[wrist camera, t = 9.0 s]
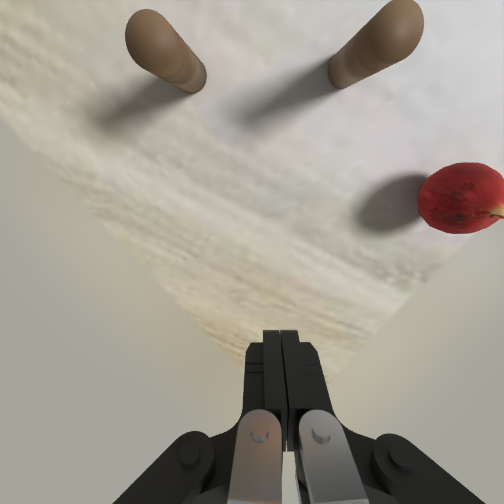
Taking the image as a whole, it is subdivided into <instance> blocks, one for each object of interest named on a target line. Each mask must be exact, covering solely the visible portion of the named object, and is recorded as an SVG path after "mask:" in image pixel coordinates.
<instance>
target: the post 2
mask: <svg viewBox="0 0 504 504" xmlns="http://www.w3.org/2000/svg"><path fill="white" fill-rule="evenodd" d="M423 28H424V18H423V13H422V10H421V8H420V7H419V5H418V4H417V3H416V2H415V1H413V0H392V1H391V2H389V3H388V4H386V5H385V6H384V7H383V8H382V9H381V10H380V11H379V12H378V13H377V14H376V15H375V16H374V17H373V18H372V19H371V20H370V21H369V22H368V23H367V24H366V25H365V26H364V27H363V28H362V29H361V30H360V31H359V32H358V33H357V34H356V35H355V36H354V37H353V38H352V39H351V40H350V41H349V42H348V43H347V44H346V45H345V46H343V47H342V48H341V49H340V50H339V51H338V52H337V53H336V54H335V55H334V56H333V58H332V59H331V61H330V63H329V66H328V77H329V80H330V82H331V83H332V84H333V85H334V86H335V87H338V88H346V87H348V86H350V85H352V84H354V83H356V82H358V81H360V80H362V79H365V78H367V77H369V76H371V75H373V74H375V73H377V72H379V71H381V70H383V69H385V68H387V67H389V66H391V65H393V64H395V63H397V62H399V61H401V60H403V59H405V58H406V57H408V56H409V55H410V54H411V53H412V52H413V51H414V49H415V48H416V47H417V45H418V43H419V41H420V39H421V36H422V33H423Z"/></svg>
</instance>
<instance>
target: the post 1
mask: <svg viewBox="0 0 504 504" xmlns="http://www.w3.org/2000/svg"><path fill="white" fill-rule="evenodd" d="M125 40H126V45H127V49H128V51H129V54H130V55H131V57H132V59H133V60H134V61H135V62H136V63H137V64H138V65H139V66H140V67H142V68H143V69H145V70H147V71H149V72H151V73H152V74H154V75H156V76H158V77H160V78H162V79H164V80H165V81H167V82H169V83H171V84H173V85H175V86H177V87H178V88H180V89H182V90H184V91H186V92H188V93H197V92H199V91H200V90H201V89H202V88H203V87H204V85H205V83H206V78H207V74H206V69H205V67H204V65H203V63H202V62H201V61H200V60H199V58H198V57H197V56H196V55H195V54H194V52H193V51H192V50H191V49H190V48H189V46H188V45H187V44H186V43H185V42H184V40H183V39H182V38H181V37H180V36H179V34H178V33H177V32H176V31H175V30H174V28H173V27H172V26H171V25H170V24H169V22H168V21H167V20H166V19H165V18H164V17H163V16H162V15H161V14H159V13H158V12H156V11H154V10H150V9H143V10H139V11H137V12H136V13H134V14H133V15H132V16H131V18H130V19H129V21H128V23H127V26H126V31H125Z"/></svg>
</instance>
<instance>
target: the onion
mask: <svg viewBox="0 0 504 504" xmlns="http://www.w3.org/2000/svg"><path fill="white" fill-rule="evenodd" d="M417 201H418V211H419V214H420V215H421V217H422V218H423V219H424V220H425V221H426V223H427V224H428V225H429V226H431V227H433V228H435V229H438V230H441V231H443V232H446V233H451V234H467V233H473V232H477V231H479V230H482V229H484V228H487V227H489V226H490V225H492V224H493V223H495V222H496V221H498V220H499V219H500V218H501V219H504V179H503V177H502V175H501V174H500V173H498V172H497V171H496V170H494V169H492V168H490V167H489V166H487V165H485V164H481V163H466V162H464V163H456V164H453V165H450V166H447V167H444V168H442V169H440V170H439V171H437V172H436V173H434V174H433V175H431V176H430V177H429V178H428V179H427V180H426V182H425V183H424V184H423V185H422V186H421V189H420V192H419V194H418V197H417Z"/></svg>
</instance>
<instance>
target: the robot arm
mask: <svg viewBox="0 0 504 504" xmlns="http://www.w3.org/2000/svg"><path fill="white" fill-rule="evenodd" d="M286 441H287V451H294V455H295V463H296V471H295V479H296V485H297V491H298V497H299V503H300V504H485V503H484V502H483V501H481V500H480V499H479V498H478V497H477V496H475V495H474V494H473V493H472V492H470V491H469V490H468V489H467V488H466V487H464V486H463V485H462V484H461V483H459V482H458V481H457V480H456V479H455V478H453V477H452V476H451V475H450V474H449V473H447V472H446V471H445V470H444V469H443V468H441V467H440V466H439V465H438V464H436V463H435V462H434V461H433V460H432V459H430V458H429V457H428V456H427V455H426V454H424V453H423V452H422V451H421V450H419V449H418V448H417V447H416V446H415V445H413V444H412V443H411V442H410V441H408V440H407V439H405V438H403V437H401V436H398V435H395V434H383V435H381V436H379V437H378V438H377V439H376V440H374V439H372V438H369V437H366V436H363V435H360V434H357V433H354V432H353V431H351V430H349V429H348V428H346V427H345V426H344V425H343V424H342V423H340V421H339V420H338V419H337V417H336V416H335V414H334V411H333V409H332V405H331V401H330V398H329V394H328V390H327V386H326V382H325V379H324V375H323V371H322V367H321V365H320V360H319V356H318V352H317V351H316V349H315V348H314V347H313V345H312V344H311V343H310V342H300V341H299V336H298V331H297V330H280V332H279V330H263V342H260V343H251V344H250V345H249V347H248V349H247V351H246V357H245V374H244V392H243V409H242V414H241V417H240V419H239V420H238V422H237V423H236V424H235V426H233V427H232V428H231V429H230V430H228V431H227V432H224V433H222V434H219V435H216V436H213V437H210V438H209V437H208V436H207V435H206V434H204V433H202V432H199V431H191V432H187V433H185V434H183V435H182V436H180V437H179V438H178V439H176V440H175V441H174V442H173V443H172V444H171V445H170V446H169V447H168V448H167V449H166V450H165V451H164V452H163V453H162V454H161V455H160V456H159V457H158V458H157V459H156V460H155V461H154V462H153V464H152V465H150V466H149V467H148V468H147V469H146V471H144V472H143V474H142V475H141V476H140V477H139V478H138V479H137V480H136V481H135V482H134V483H133V484H132V485H131V486H130V487H129V488H128V489H127V490H126V491H125V492H124V493H123V494H122V495H121V496H120V497H119V498H118V499H117V500H116V501H115V502H114V503H113V504H282V463H283V452H285V451H286Z"/></svg>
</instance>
